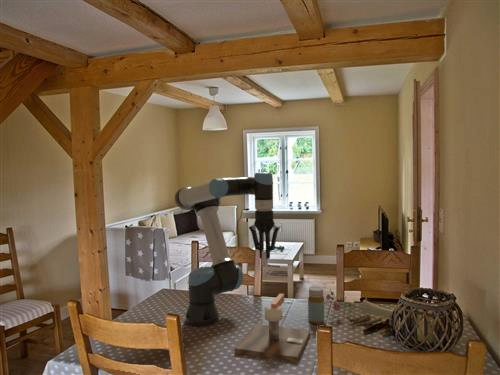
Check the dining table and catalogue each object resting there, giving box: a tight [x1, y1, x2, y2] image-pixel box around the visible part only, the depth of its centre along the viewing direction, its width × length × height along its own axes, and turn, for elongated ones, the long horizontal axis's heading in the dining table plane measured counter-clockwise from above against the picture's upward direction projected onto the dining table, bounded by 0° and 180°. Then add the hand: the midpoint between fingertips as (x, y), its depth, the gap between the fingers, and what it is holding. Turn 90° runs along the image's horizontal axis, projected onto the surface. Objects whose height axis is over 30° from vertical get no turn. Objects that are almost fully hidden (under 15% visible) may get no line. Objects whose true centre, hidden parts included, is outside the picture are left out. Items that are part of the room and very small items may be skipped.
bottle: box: [307, 286, 325, 325], centre depth 180 cm, size 7×7×15 cm
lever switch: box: [264, 293, 285, 322], centre depth 163 cm, size 16×7×6 cm, turn 161°
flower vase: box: [325, 288, 393, 320], centre depth 181 cm, size 12×12×35 cm
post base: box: [234, 321, 311, 363], centre depth 159 cm, size 24×24×10 cm
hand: (265, 266), depth 168 cm, fingers closed
